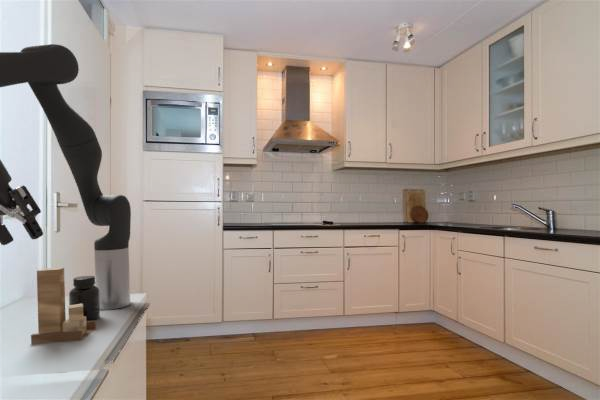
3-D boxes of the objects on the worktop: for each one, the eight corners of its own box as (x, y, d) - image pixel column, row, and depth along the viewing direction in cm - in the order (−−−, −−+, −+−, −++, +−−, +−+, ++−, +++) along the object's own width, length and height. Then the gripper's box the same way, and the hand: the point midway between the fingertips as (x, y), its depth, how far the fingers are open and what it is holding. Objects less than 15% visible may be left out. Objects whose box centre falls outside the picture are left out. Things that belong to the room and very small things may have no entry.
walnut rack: (51, 336, 90) (50, 323, 90) (96, 333, 91) (95, 320, 91) (31, 349, 82) (30, 335, 82) (81, 345, 83) (80, 331, 83)
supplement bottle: (65, 330, 94) (64, 281, 94) (74, 321, 101) (72, 276, 101) (96, 326, 96) (95, 278, 96) (103, 318, 102) (101, 273, 102)
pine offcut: (71, 332, 88) (71, 317, 88) (86, 331, 88) (86, 316, 88) (63, 338, 84) (62, 322, 84) (78, 337, 84) (78, 321, 84)
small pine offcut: (68, 318, 87) (68, 305, 87) (82, 316, 89) (82, 303, 89) (68, 322, 84) (68, 308, 84) (83, 319, 86) (83, 306, 86)
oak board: (44, 335, 87) (42, 268, 87) (66, 333, 88) (64, 267, 88) (38, 338, 84) (36, 270, 85) (60, 337, 85) (58, 269, 85)
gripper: (20, 151, 72) (63, 226, 78) (-30, 166, 77) (14, 235, 83) (-17, 165, 66) (32, 245, 71) (-70, 180, 70) (-19, 254, 76)
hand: (23, 240), depth 77 cm, fingers open, 8 cm apart
